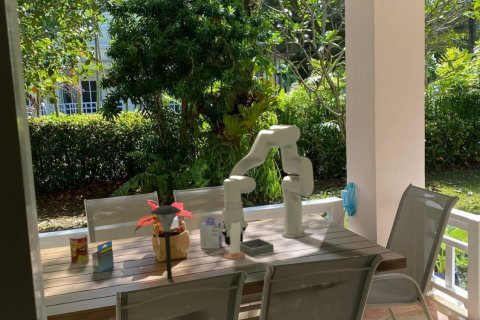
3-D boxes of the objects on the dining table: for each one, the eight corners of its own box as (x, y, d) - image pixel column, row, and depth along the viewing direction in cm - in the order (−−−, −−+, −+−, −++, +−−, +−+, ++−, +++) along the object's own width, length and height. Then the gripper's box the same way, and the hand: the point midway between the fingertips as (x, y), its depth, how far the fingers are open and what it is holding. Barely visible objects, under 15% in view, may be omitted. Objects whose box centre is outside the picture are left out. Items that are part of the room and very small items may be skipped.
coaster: (237, 250, 228) (237, 249, 228) (249, 256, 220) (249, 255, 220) (219, 255, 223) (219, 253, 223) (230, 260, 215) (230, 259, 215)
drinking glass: (226, 250, 224) (225, 219, 222) (241, 249, 225) (239, 218, 223) (227, 255, 218) (226, 223, 216) (242, 254, 218) (241, 222, 216)
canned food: (69, 260, 223) (67, 236, 221) (85, 256, 228) (83, 232, 226) (74, 265, 217) (72, 239, 215) (91, 260, 222) (89, 236, 220)
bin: (259, 245, 236) (259, 238, 235) (273, 251, 226) (273, 244, 225) (238, 250, 230) (238, 243, 229) (252, 256, 219) (251, 249, 219)
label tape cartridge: (108, 265, 215) (106, 239, 213) (114, 266, 213) (112, 240, 211) (92, 271, 207) (90, 244, 206) (99, 273, 205) (97, 245, 204)
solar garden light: (183, 282, 192) (180, 209, 188) (153, 284, 191) (148, 211, 187) (184, 271, 204) (181, 203, 200) (156, 273, 203) (152, 204, 199)
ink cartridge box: (222, 245, 237) (221, 217, 235) (219, 249, 232) (218, 220, 230) (203, 245, 239) (202, 217, 237) (200, 248, 234) (199, 220, 232)
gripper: (244, 201, 226) (245, 237, 228) (212, 206, 217) (213, 244, 220) (252, 204, 220) (254, 241, 222) (220, 209, 211) (221, 248, 213)
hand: (234, 242), depth 221 cm, fingers closed on drinking glass, 6 cm apart
